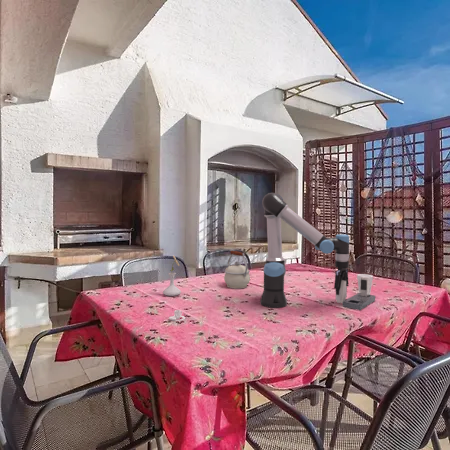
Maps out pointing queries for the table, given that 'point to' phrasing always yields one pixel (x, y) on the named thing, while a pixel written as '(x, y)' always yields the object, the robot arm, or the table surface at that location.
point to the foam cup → (360, 280)
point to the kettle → (237, 273)
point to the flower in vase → (172, 283)
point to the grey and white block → (360, 296)
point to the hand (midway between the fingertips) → (341, 298)
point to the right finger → (342, 292)
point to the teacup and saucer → (176, 316)
